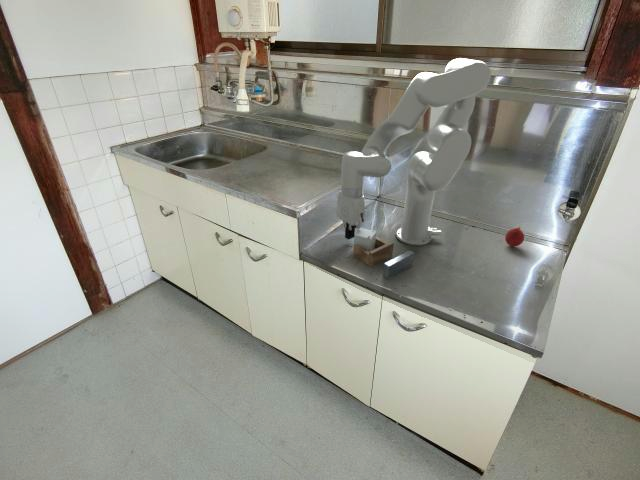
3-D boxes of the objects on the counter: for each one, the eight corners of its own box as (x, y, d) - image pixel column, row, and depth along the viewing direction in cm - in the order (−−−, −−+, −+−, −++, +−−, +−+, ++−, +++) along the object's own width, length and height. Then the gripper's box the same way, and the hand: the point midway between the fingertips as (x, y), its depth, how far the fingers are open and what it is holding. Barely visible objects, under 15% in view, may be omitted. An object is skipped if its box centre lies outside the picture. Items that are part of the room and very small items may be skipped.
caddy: (353, 255, 122) (354, 243, 120) (374, 245, 128) (375, 233, 125) (370, 266, 117) (371, 253, 114) (392, 255, 122) (393, 243, 120)
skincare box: (358, 245, 129) (360, 227, 125) (375, 249, 126) (376, 230, 123) (352, 253, 124) (353, 234, 120) (369, 257, 122) (371, 238, 118)
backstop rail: (382, 276, 112) (384, 263, 110) (407, 263, 119) (409, 250, 116) (387, 279, 111) (389, 266, 108) (412, 265, 118) (414, 252, 115)
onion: (516, 252, 125) (522, 232, 120) (499, 246, 128) (505, 226, 124) (523, 247, 128) (530, 227, 124) (507, 240, 132) (513, 221, 128)
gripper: (329, 185, 123) (328, 232, 132) (359, 200, 113) (356, 249, 122) (345, 180, 127) (343, 226, 136) (376, 194, 117) (372, 242, 126)
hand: (349, 237), depth 129 cm, fingers closed
